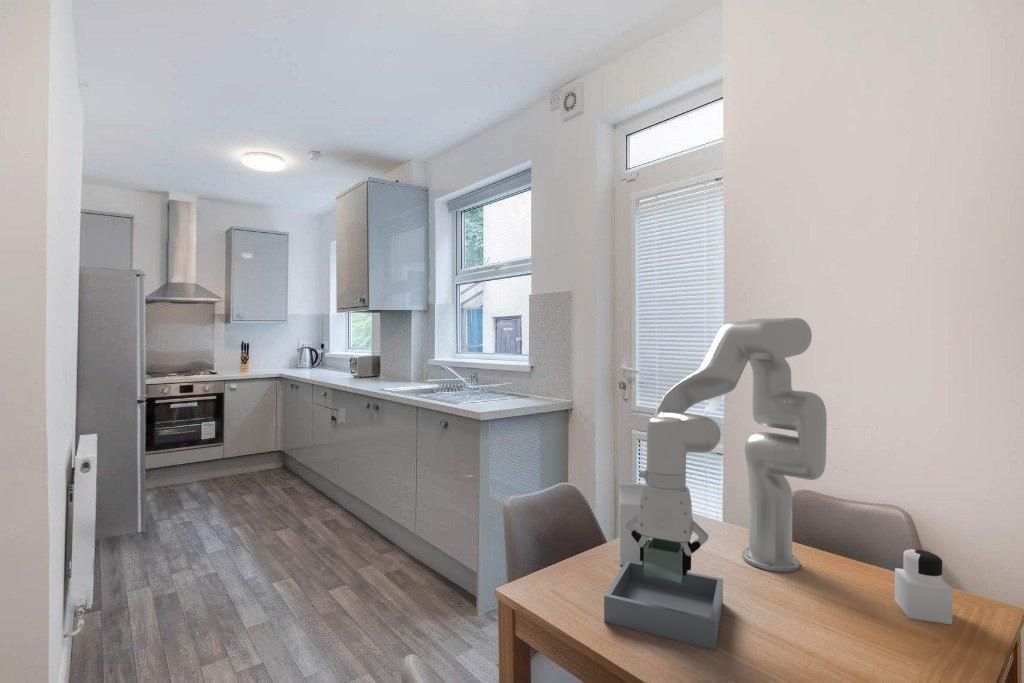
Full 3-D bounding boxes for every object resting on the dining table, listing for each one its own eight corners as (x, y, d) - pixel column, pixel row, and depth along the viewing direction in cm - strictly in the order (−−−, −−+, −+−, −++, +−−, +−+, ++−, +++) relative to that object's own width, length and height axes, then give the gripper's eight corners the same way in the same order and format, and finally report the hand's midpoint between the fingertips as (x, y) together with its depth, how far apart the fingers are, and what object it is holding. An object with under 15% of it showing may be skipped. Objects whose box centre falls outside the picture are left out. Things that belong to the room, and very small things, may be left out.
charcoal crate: (626, 582, 113) (626, 560, 113) (722, 603, 105) (723, 578, 105) (604, 621, 97) (604, 595, 97) (715, 650, 88) (715, 621, 88)
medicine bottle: (935, 607, 103) (935, 548, 103) (953, 625, 97) (953, 562, 97) (894, 601, 106) (894, 544, 106) (908, 619, 99) (908, 557, 99)
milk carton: (650, 568, 120) (650, 488, 120) (619, 565, 122) (620, 487, 122) (648, 556, 127) (648, 480, 127) (619, 553, 129) (619, 479, 129)
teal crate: (650, 564, 105) (650, 535, 106) (685, 571, 102) (686, 542, 102) (643, 578, 99) (643, 547, 99) (680, 586, 96) (681, 554, 96)
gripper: (618, 478, 101) (617, 567, 101) (710, 490, 94) (709, 586, 94) (627, 470, 108) (626, 553, 108) (714, 481, 100) (713, 570, 100)
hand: (665, 568), depth 101 cm, fingers closed on teal crate, 7 cm apart
